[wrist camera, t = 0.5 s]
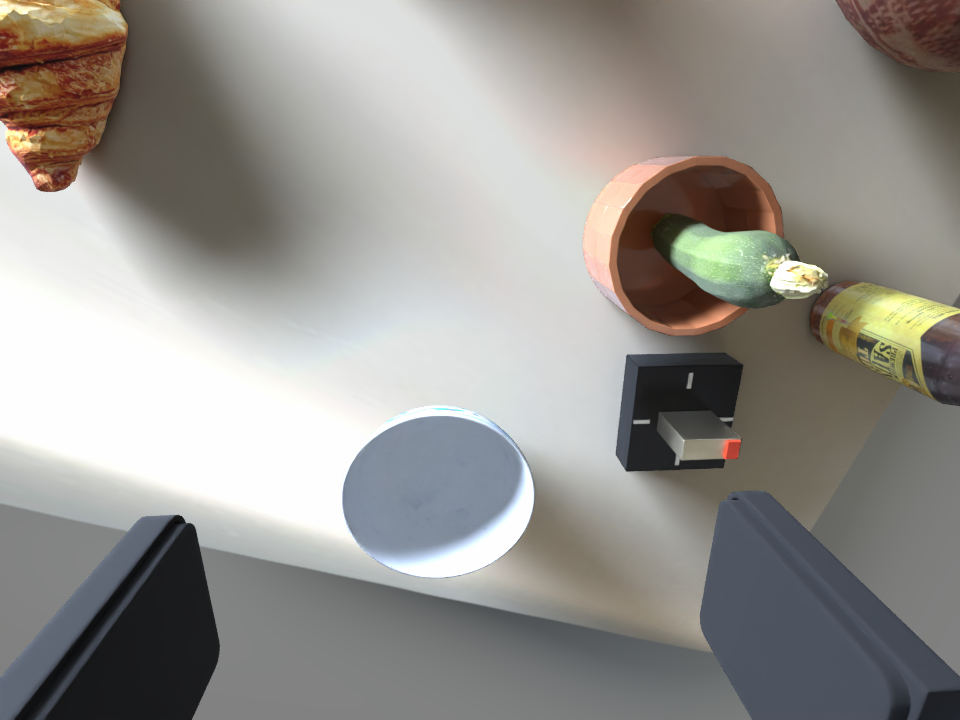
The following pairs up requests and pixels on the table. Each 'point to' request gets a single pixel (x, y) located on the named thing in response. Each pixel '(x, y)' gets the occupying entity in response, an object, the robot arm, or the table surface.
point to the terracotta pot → (629, 246)
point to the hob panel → (672, 404)
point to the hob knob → (698, 435)
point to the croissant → (58, 81)
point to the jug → (910, 30)
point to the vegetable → (736, 262)
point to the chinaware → (438, 493)
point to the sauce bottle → (893, 336)
